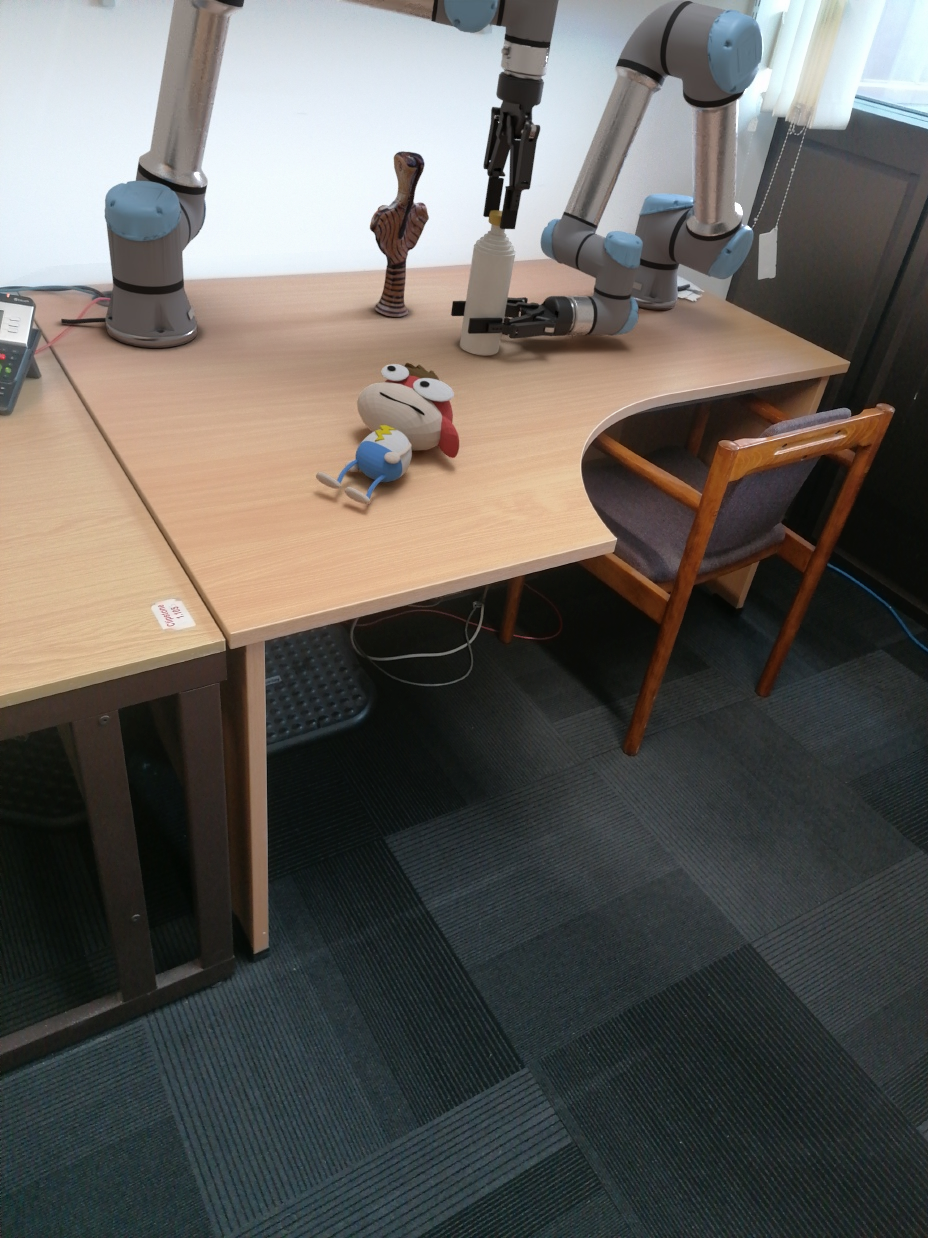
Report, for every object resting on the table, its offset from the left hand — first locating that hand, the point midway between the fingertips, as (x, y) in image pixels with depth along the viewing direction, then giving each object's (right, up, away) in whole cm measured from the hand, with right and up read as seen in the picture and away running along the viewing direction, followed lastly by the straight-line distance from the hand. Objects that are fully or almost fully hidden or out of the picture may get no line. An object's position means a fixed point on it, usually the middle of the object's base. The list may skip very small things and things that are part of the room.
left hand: (498, 221), depth 159 cm
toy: (-18, -47, -25) cm, 56 cm away
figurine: (-21, -8, +23) cm, 32 cm away
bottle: (-3, -18, +15) cm, 23 cm away
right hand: (-7, -14, +9) cm, 18 cm away
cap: (0, +1, -1) cm, 1 cm away
